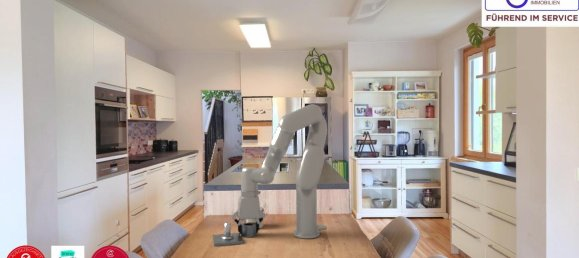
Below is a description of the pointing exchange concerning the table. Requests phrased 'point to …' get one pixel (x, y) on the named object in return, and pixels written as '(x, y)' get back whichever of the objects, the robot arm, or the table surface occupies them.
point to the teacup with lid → (255, 220)
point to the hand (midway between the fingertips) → (248, 232)
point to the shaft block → (227, 237)
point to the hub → (248, 229)
